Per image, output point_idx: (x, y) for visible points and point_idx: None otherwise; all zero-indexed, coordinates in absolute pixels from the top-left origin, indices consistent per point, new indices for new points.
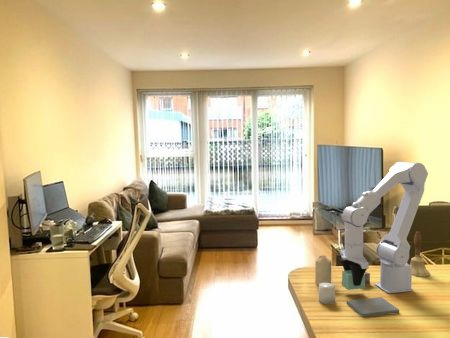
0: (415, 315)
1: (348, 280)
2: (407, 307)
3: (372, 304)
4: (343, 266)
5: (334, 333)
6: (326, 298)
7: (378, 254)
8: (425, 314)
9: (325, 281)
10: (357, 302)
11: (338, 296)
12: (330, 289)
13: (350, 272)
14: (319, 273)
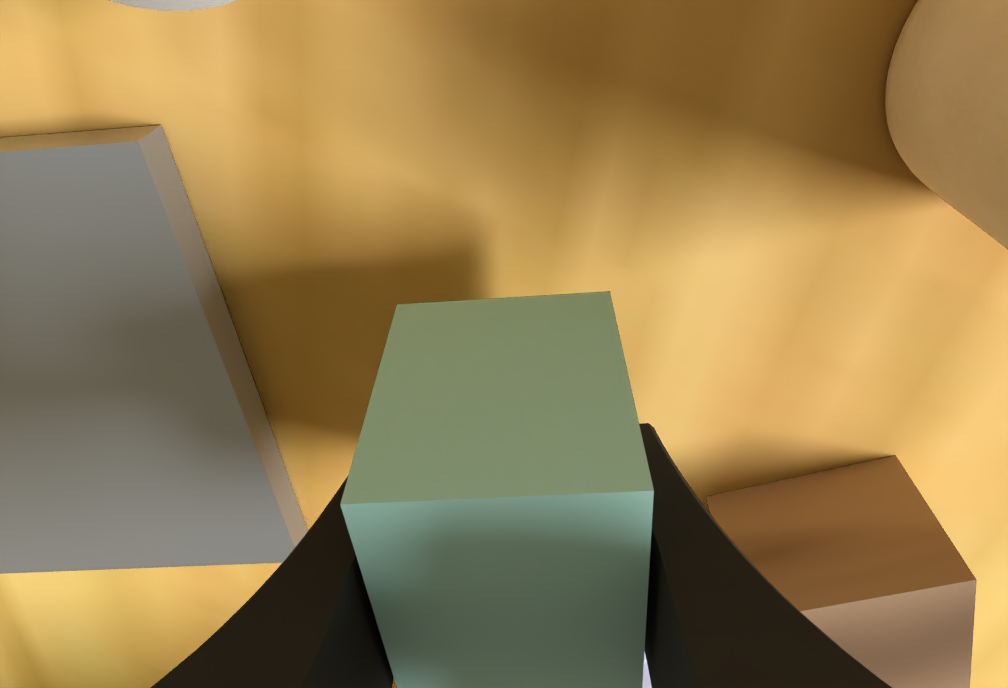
0: (3, 618)
1: (365, 418)
2: (159, 633)
3: (71, 414)
4: (760, 614)
5: None
6: None
7: None
8: (44, 672)
9: (948, 65)
10: (95, 272)
11: (443, 109)
12: None
13: (509, 592)
14: None
